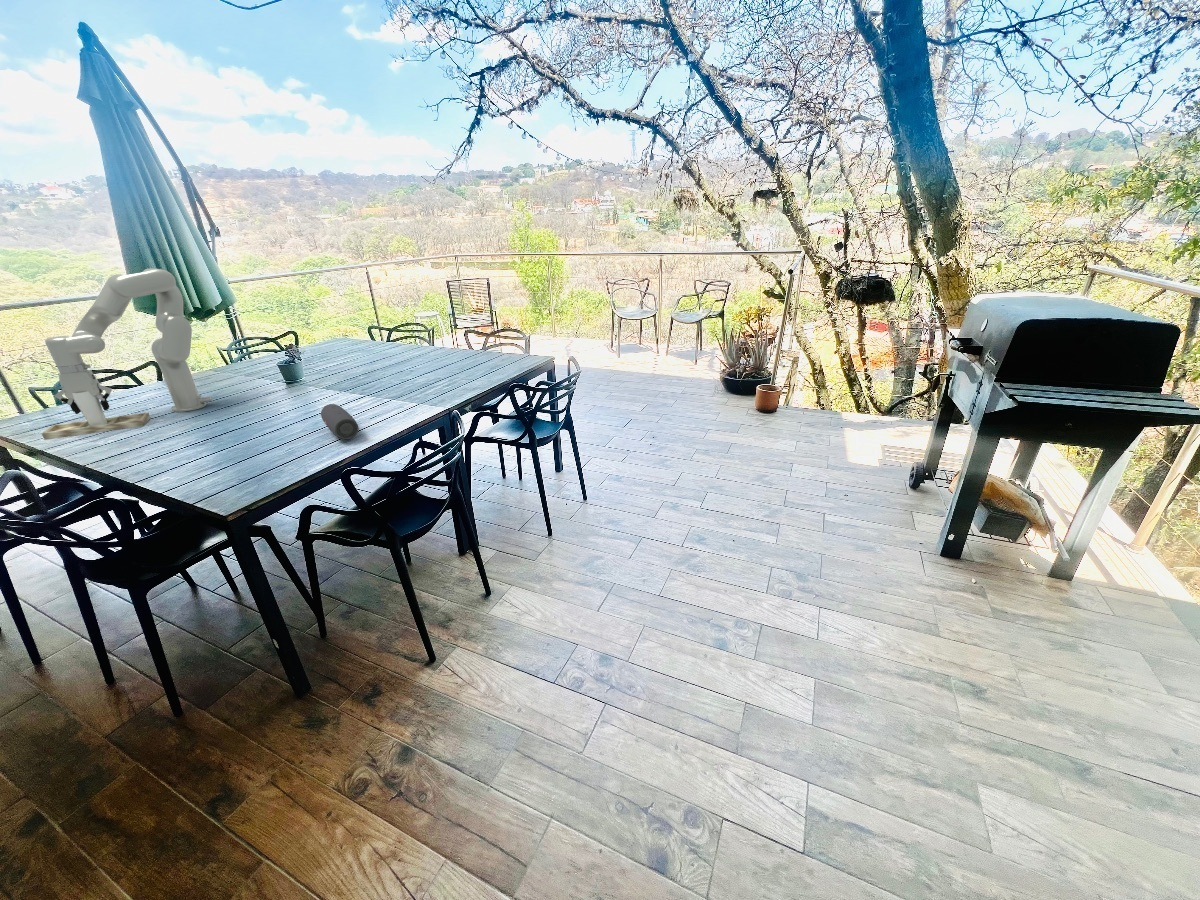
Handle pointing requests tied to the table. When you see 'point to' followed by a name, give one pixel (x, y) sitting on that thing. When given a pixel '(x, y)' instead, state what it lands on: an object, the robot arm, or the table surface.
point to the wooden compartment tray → (84, 427)
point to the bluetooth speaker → (339, 421)
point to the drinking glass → (90, 408)
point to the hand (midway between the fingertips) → (92, 411)
